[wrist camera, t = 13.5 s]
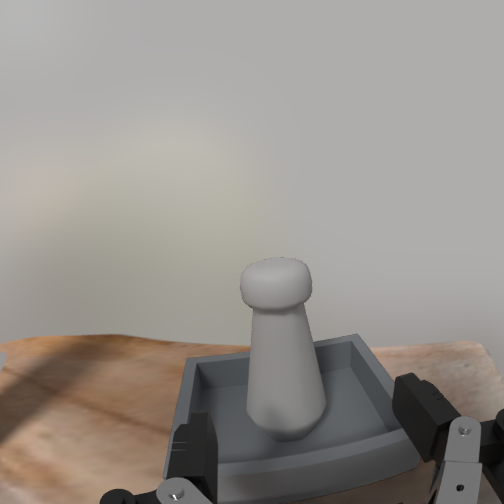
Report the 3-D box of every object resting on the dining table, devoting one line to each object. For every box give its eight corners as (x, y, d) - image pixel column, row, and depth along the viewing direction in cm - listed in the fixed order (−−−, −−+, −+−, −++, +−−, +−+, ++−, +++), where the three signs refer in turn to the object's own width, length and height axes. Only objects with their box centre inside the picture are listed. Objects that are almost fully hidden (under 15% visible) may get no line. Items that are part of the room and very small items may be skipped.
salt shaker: (241, 446, 20) (208, 279, 17) (260, 399, 26) (240, 252, 23) (322, 452, 19) (319, 276, 16) (329, 402, 24) (325, 248, 21)
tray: (180, 509, 15) (162, 477, 15) (195, 391, 29) (186, 358, 28) (416, 467, 16) (429, 430, 15) (356, 367, 30) (357, 333, 29)
